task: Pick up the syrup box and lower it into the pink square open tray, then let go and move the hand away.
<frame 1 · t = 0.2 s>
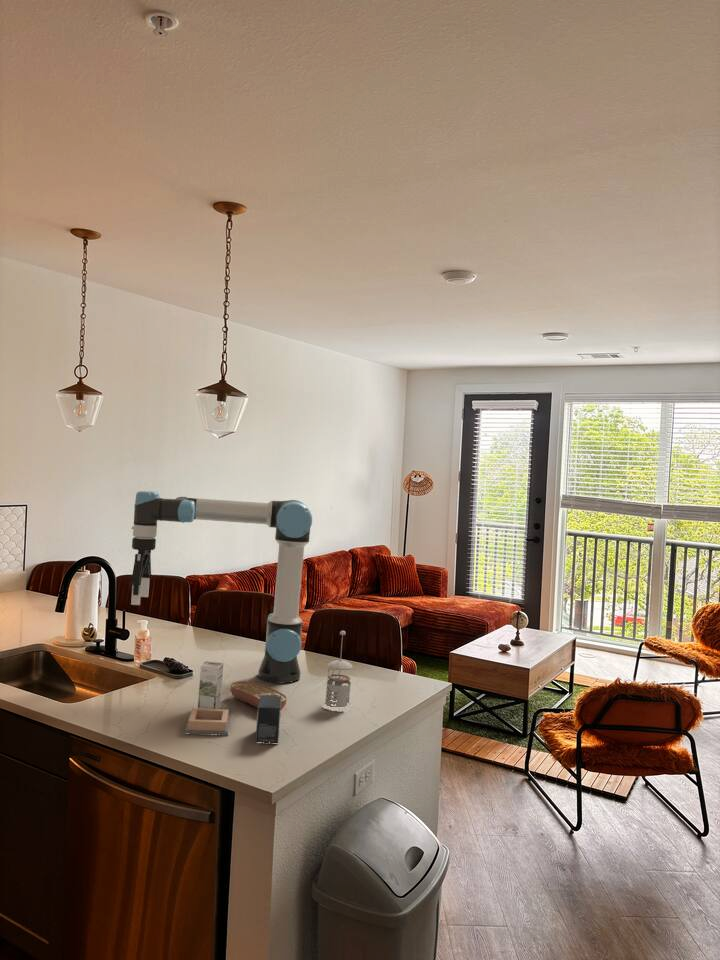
hand: (139, 600, 241), 28 cm above the counter, tool pointing down, fingers open, 13 cm apart
small box: (267, 737, 204), on the counter
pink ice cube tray: (257, 706, 230), on the counter
pink square open tray: (208, 727, 208), on the counter
syrup box: (208, 711, 222), on the counter
french press: (335, 706, 235), on the counter
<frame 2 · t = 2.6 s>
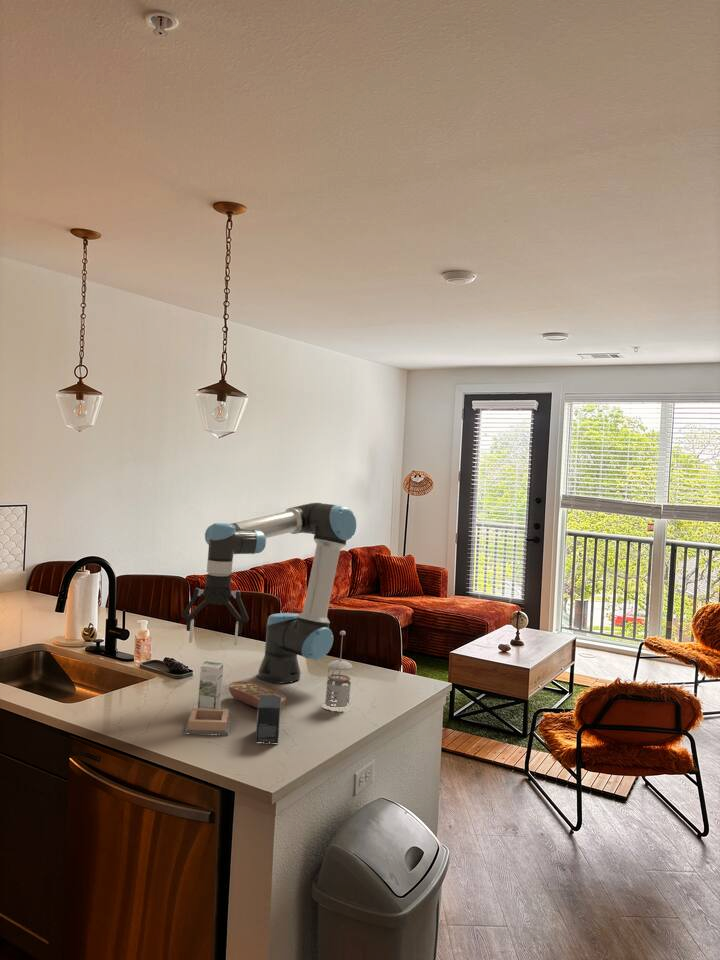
hand: (213, 642, 221), 21 cm above the counter, tool pointing down, fingers open, 13 cm apart
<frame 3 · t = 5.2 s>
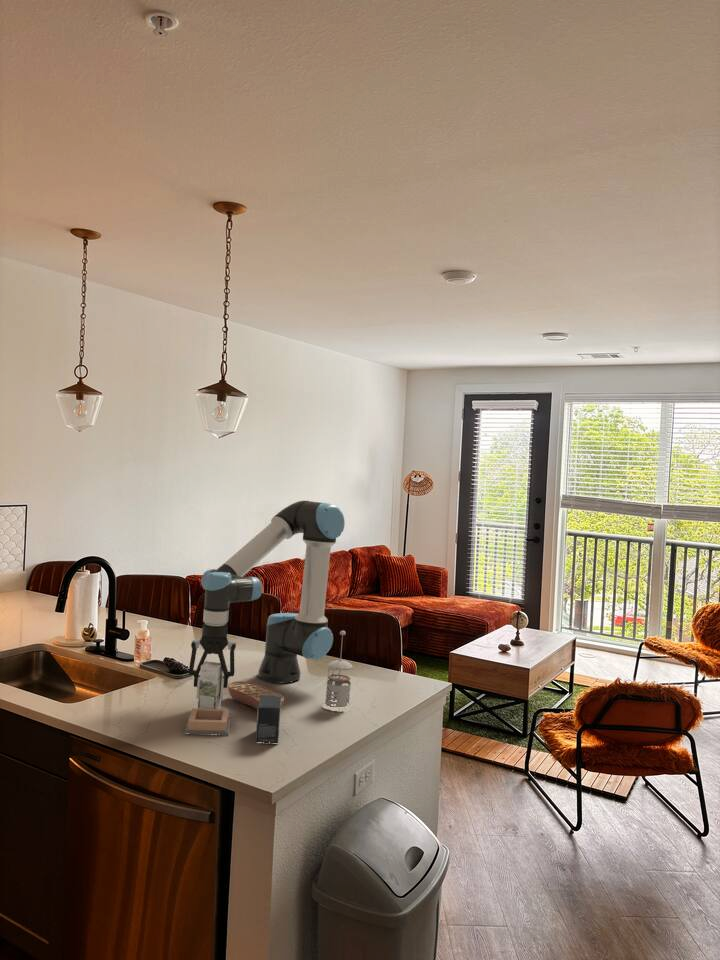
hand: (209, 697, 222), 4 cm above the counter, tool pointing down, fingers closed on syrup box, 6 cm apart
syrup box: (208, 710, 222), on the counter, touching gripper
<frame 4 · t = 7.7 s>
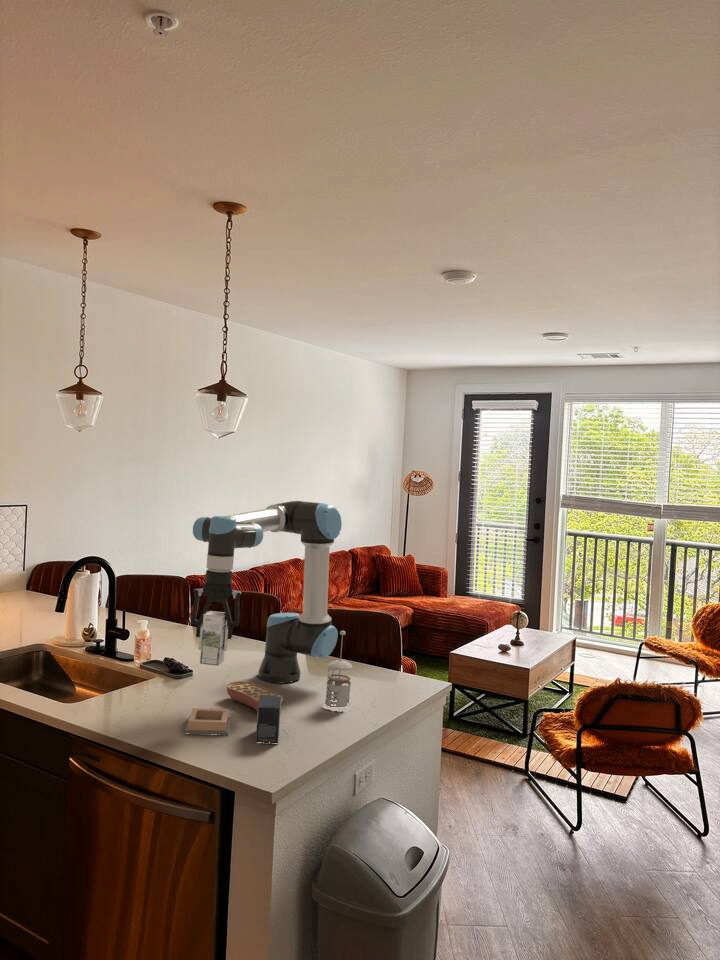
hand: (213, 649, 209), 22 cm above the counter, tool pointing down, fingers closed on syrup box, 6 cm apart
syrup box: (211, 663, 209), point 18 cm above the counter, touching gripper
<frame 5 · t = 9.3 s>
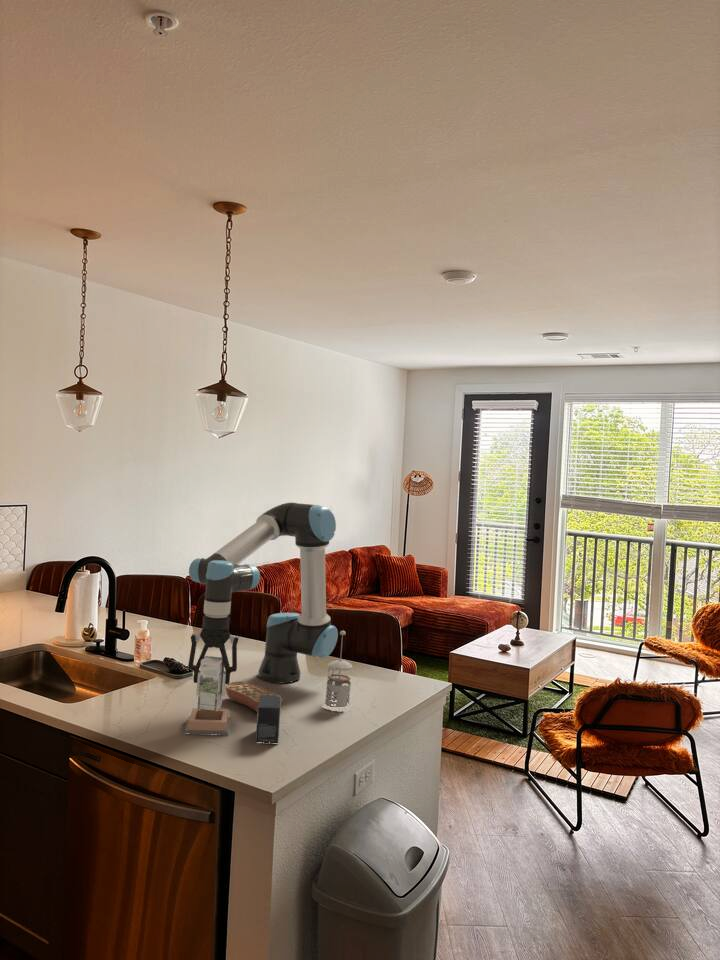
hand: (210, 694, 208), 10 cm above the counter, tool pointing down, fingers closed on syrup box, 6 cm apart
syrup box: (209, 708, 208), point 5 cm above the counter, touching gripper
when the fingers open (7 cm above the counter, at t = 10.5 s): syrup box drops 2 cm, resting on pink square open tray.
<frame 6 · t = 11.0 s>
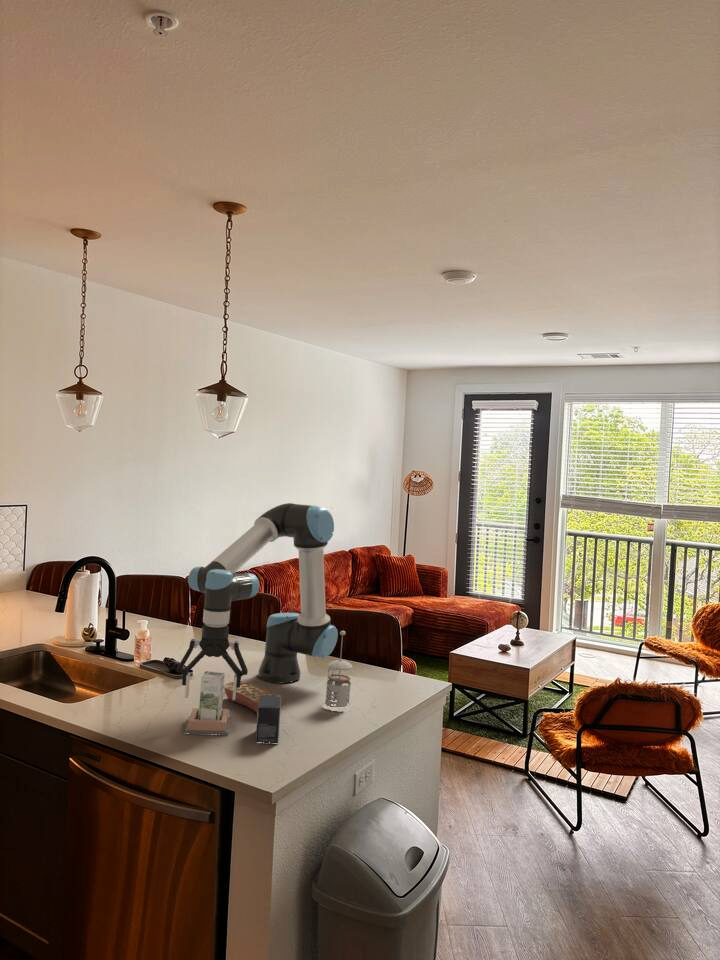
hand: (210, 697, 208), 9 cm above the counter, tool pointing down, fingers open, 13 cm apart
syrup box: (209, 724, 208), point 1 cm above the counter, touching pink square open tray
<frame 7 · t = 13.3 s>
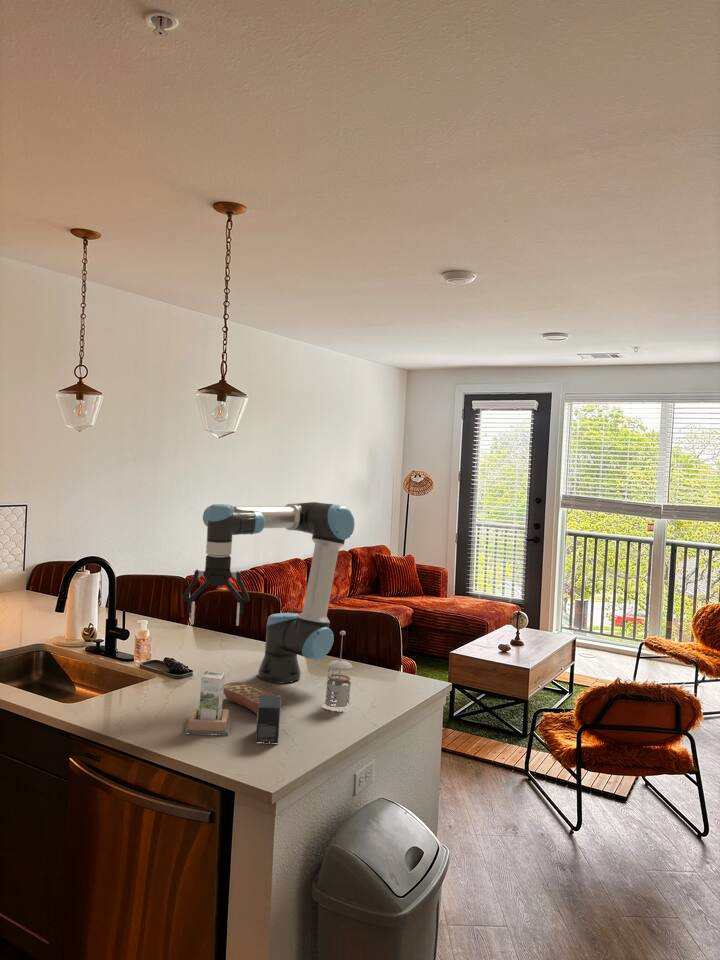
hand: (214, 624, 221), 27 cm above the counter, tool pointing down, fingers open, 13 cm apart
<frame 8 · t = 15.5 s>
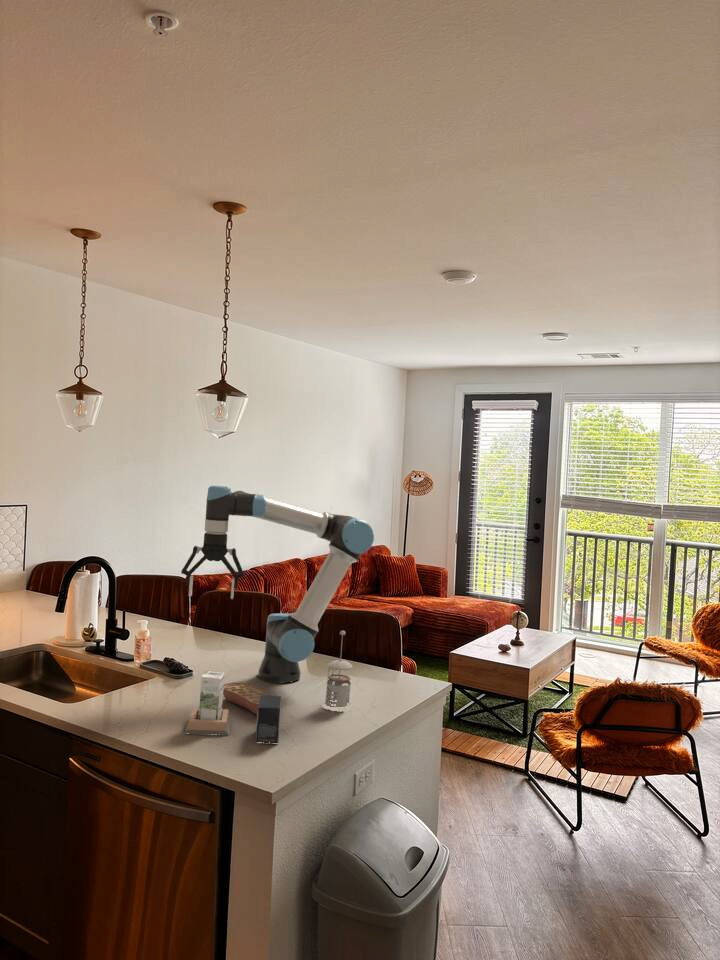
hand: (211, 596, 238), 32 cm above the counter, tool pointing down, fingers open, 13 cm apart
at the end: syrup box 0.3 cm off-centre on the pink square open tray, point 0.8 cm above the pink square open tray's base; syrup box tilted 0°; the gripper is holding nothing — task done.
